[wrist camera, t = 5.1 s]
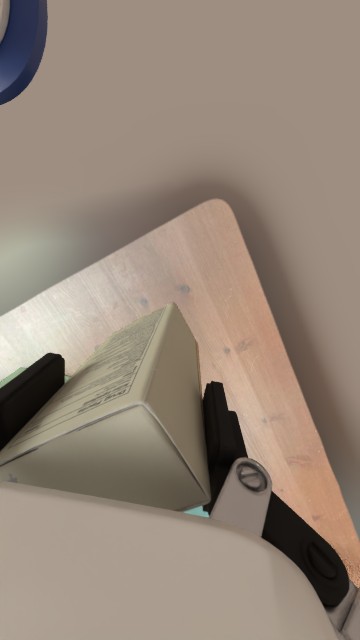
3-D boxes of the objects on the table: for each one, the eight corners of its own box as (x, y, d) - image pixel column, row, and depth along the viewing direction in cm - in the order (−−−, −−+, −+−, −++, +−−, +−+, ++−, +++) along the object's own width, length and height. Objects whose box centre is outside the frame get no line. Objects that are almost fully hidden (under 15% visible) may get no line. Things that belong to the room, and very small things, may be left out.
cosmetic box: (137, 372, 19) (58, 558, 8) (109, 331, 18) (-32, 476, 7) (201, 343, 18) (218, 511, 7) (175, 296, 17) (142, 401, 6)
